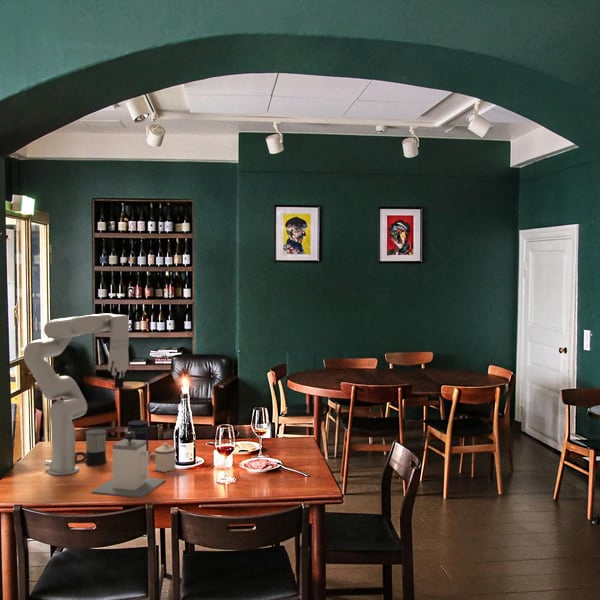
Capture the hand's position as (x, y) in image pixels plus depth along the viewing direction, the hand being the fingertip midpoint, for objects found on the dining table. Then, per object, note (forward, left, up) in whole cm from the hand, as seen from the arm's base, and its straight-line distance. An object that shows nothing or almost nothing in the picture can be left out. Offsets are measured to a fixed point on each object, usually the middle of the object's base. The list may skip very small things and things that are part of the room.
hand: (119, 387), depth 276 cm
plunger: (+9, -8, -35) cm, 37 cm away
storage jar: (-10, +40, -39) cm, 57 cm away
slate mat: (+9, -8, -39) cm, 41 cm away
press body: (+10, -8, -38) cm, 41 cm away
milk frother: (-25, +19, -39) cm, 50 cm away
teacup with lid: (+12, +18, -39) cm, 45 cm away
